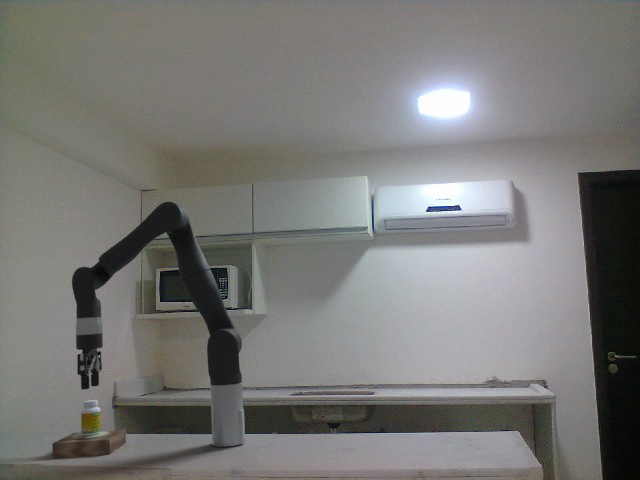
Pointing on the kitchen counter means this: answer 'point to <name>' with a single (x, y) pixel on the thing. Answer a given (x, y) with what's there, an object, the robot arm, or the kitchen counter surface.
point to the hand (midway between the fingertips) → (90, 387)
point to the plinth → (89, 444)
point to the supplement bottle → (90, 418)
